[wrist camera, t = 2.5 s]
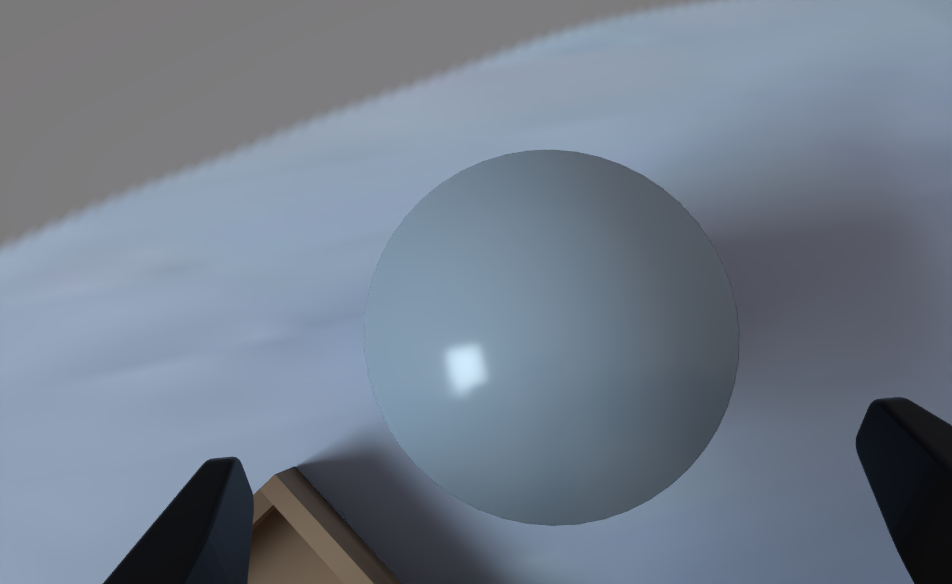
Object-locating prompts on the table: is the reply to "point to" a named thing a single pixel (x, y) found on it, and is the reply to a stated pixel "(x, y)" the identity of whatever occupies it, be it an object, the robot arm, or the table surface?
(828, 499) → the table surface
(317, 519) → the tray
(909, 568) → the robot arm
